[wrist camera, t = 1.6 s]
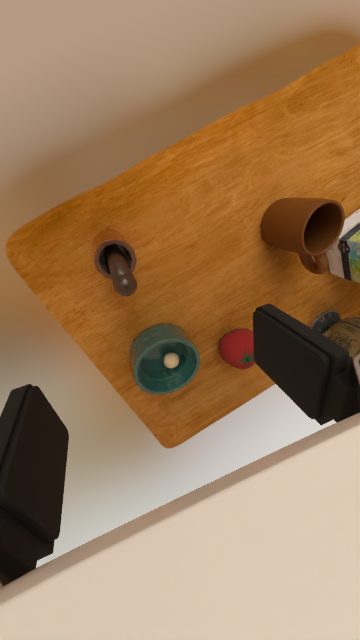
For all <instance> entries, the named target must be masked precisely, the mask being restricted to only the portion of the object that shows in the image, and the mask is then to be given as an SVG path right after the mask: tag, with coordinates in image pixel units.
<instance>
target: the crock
mask: <svg viewBox="0 0 360 640" xmlns="http://www.w3.org/2000/svg"><path fill="white" fill-rule="evenodd" d="M112 244H117V246H118V248H119V250H120V252H121V254H122V255H123V257H124V259H125V261H126V263H127V265H128V267H129V268H130V270H131V272H133V271H134V268H135V264H136V257H135V253H134V250H133V249H132V247H131V246H130V245H129V244H128V242H127V241H126V240H125V239H124V237H123V236H122V235H121V234H120V233H119V232H117V231H115V230H112V229H105V230H102V231H100V232H99V233H98V234H97V235H96V236H95V238H94V242H93V253H94V262H95V265H96V267H97V270H98V271H99V272H100V273H101V274H102V275H103V276H105V277H106V278H109V279H112V277H111V273H110V269H109V265H108V262H107V258H106V254H105V250H104V248H105V247H106V246H108V245H112Z"/></svg>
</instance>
